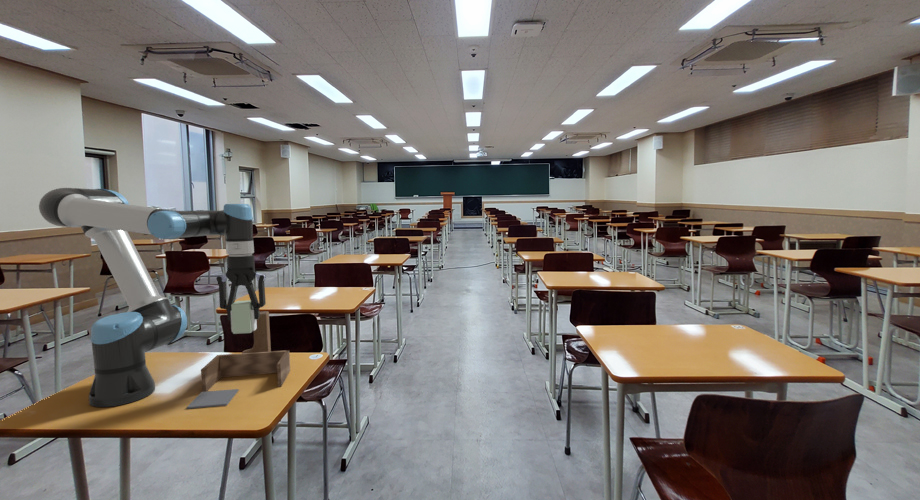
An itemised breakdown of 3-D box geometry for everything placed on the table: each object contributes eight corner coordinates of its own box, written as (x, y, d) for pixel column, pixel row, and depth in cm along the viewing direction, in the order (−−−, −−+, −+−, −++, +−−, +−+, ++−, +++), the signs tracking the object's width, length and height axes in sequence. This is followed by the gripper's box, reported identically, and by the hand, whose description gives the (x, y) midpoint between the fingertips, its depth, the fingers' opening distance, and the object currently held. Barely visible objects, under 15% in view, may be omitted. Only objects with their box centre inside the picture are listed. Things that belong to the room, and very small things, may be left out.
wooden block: (240, 367, 147) (237, 315, 146) (244, 362, 152) (241, 312, 150) (269, 364, 150) (266, 313, 148) (271, 360, 154) (268, 310, 152)
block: (233, 333, 130) (231, 304, 129) (238, 329, 135) (236, 300, 134) (250, 332, 131) (249, 303, 130) (255, 328, 136) (254, 300, 135)
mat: (186, 408, 117) (186, 407, 117) (201, 393, 127) (201, 391, 126) (226, 405, 119) (226, 403, 118) (238, 390, 128) (238, 388, 128)
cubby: (202, 392, 127) (200, 369, 126) (218, 376, 140) (217, 355, 139) (281, 386, 131) (280, 364, 130) (290, 370, 144) (289, 350, 143)
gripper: (202, 257, 125) (207, 335, 128) (269, 255, 128) (272, 331, 131) (212, 254, 133) (217, 328, 135) (275, 253, 136) (278, 325, 138)
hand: (244, 329), depth 133 cm, fingers closed on block, 5 cm apart
